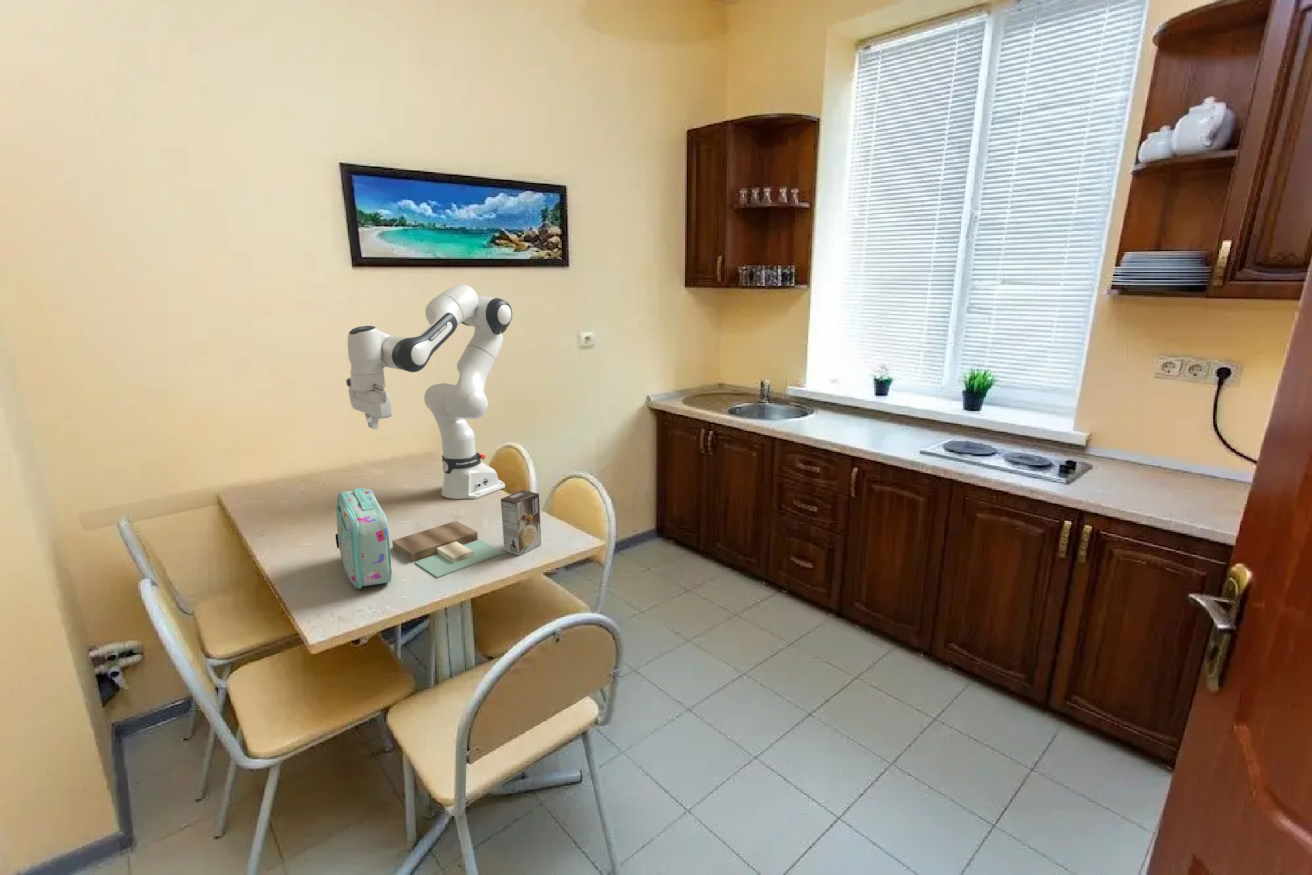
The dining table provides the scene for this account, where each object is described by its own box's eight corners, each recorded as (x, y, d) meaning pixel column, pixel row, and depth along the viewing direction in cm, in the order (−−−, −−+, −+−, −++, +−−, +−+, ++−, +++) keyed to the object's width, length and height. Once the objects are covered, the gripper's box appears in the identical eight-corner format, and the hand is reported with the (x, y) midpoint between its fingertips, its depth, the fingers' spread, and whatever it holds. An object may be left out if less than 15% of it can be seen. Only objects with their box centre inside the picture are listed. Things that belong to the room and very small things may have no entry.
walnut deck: (456, 528, 187) (456, 520, 186) (477, 539, 179) (477, 531, 178) (393, 548, 172) (392, 540, 172) (413, 562, 165) (412, 553, 164)
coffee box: (525, 539, 180) (523, 488, 176) (541, 544, 176) (540, 493, 172) (503, 550, 172) (500, 498, 168) (519, 556, 169) (516, 503, 165)
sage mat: (479, 540, 178) (479, 539, 178) (503, 553, 171) (503, 552, 171) (415, 563, 164) (414, 561, 164) (437, 578, 156) (437, 576, 156)
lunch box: (336, 557, 167) (326, 484, 161) (376, 548, 173) (368, 477, 167) (353, 598, 146) (343, 516, 140) (398, 587, 152) (390, 507, 146)
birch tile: (456, 546, 174) (456, 541, 173) (473, 555, 168) (473, 551, 168) (437, 552, 169) (436, 547, 169) (453, 563, 164) (453, 558, 163)
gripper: (395, 385, 173) (399, 432, 176) (364, 377, 186) (369, 420, 189) (373, 388, 168) (378, 436, 172) (343, 379, 181) (348, 424, 185)
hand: (373, 428), depth 181 cm, fingers closed
